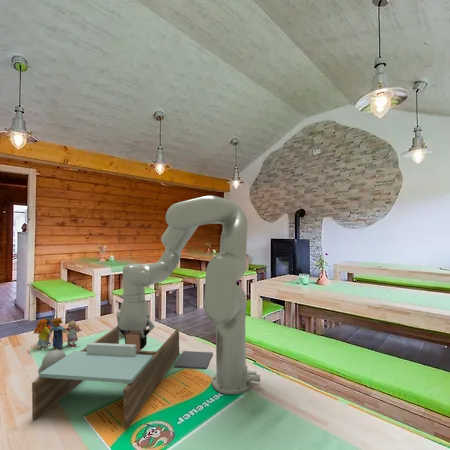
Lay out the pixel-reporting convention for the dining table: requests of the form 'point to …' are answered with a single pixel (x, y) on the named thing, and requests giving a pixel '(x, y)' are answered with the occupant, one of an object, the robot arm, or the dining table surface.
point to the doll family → (56, 333)
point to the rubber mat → (194, 360)
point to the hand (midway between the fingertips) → (136, 346)
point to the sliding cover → (100, 364)
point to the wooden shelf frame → (133, 393)
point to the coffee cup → (118, 321)
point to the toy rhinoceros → (51, 359)
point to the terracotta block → (134, 339)
